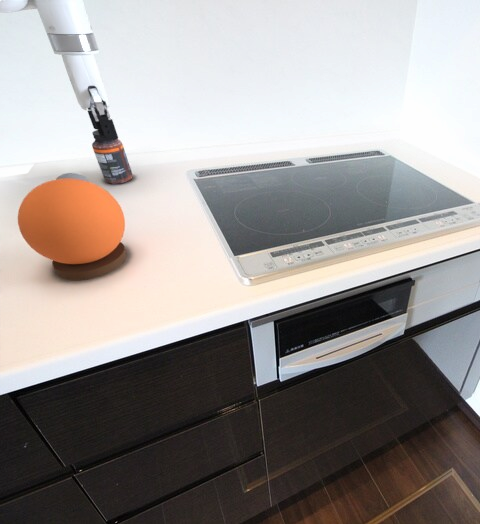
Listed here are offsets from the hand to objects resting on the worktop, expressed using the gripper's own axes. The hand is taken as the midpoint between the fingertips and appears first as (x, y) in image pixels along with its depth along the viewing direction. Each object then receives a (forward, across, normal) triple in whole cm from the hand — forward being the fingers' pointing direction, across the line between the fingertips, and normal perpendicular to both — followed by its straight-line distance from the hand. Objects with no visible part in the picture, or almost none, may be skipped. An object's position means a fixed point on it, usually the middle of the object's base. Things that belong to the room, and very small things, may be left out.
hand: (106, 133), depth 80 cm
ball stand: (+11, +34, -10) cm, 37 cm away
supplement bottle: (+11, 0, 0) cm, 11 cm away
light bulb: (+11, +20, -9) cm, 24 cm away
